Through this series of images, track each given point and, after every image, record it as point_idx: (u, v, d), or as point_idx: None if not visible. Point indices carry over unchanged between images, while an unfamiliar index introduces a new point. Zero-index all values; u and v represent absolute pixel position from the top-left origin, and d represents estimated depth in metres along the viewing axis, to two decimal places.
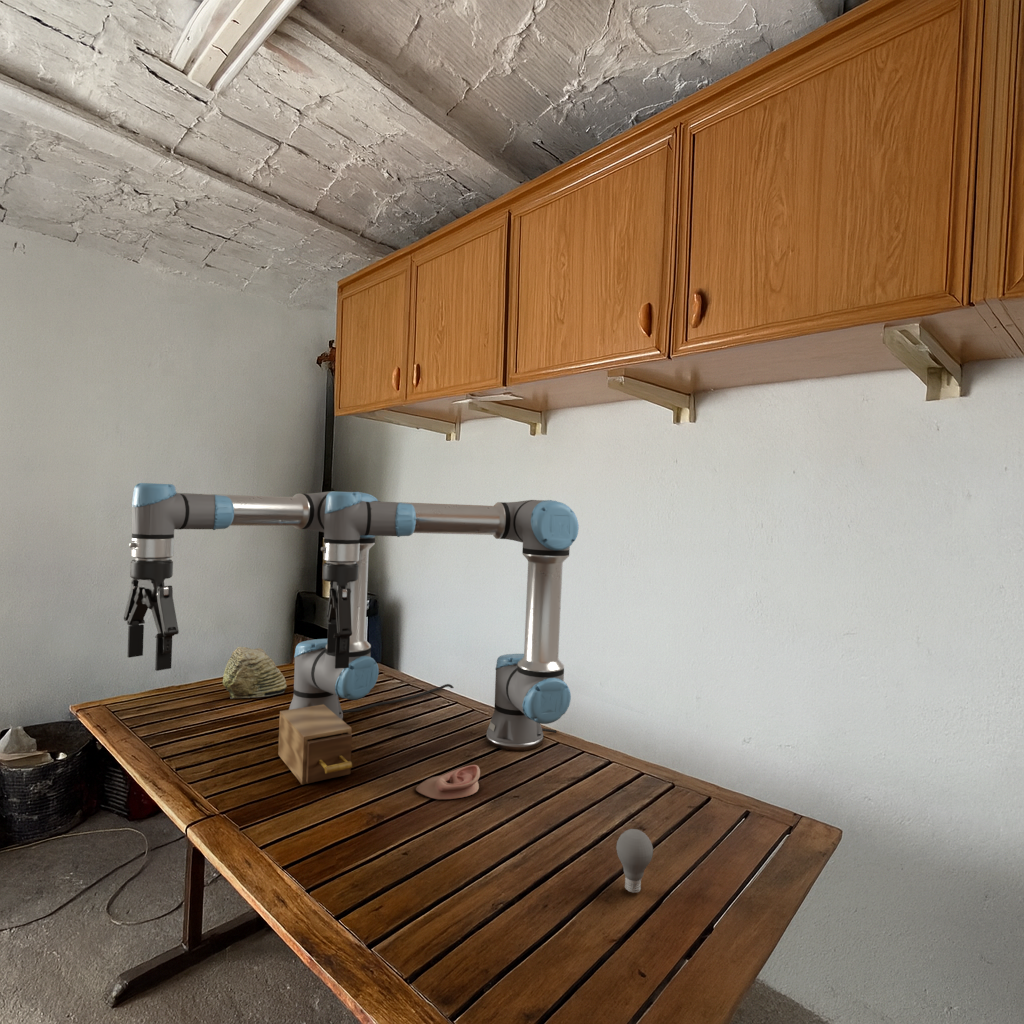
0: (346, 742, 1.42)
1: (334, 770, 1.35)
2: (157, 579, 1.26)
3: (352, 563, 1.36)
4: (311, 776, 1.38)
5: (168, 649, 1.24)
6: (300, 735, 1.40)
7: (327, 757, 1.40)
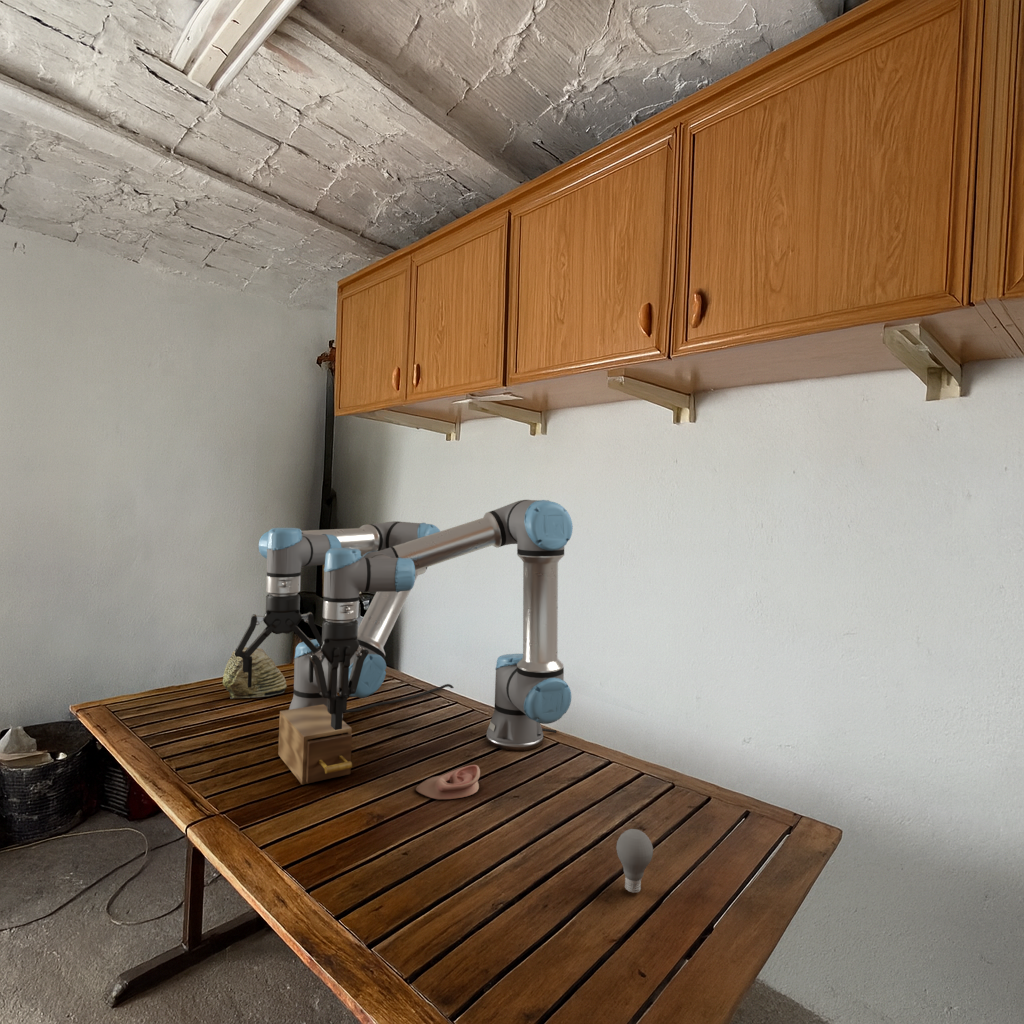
0: (346, 742, 1.42)
1: (334, 770, 1.35)
2: (299, 609, 1.50)
3: None
4: (311, 776, 1.38)
5: None
6: (300, 735, 1.40)
7: (327, 757, 1.40)
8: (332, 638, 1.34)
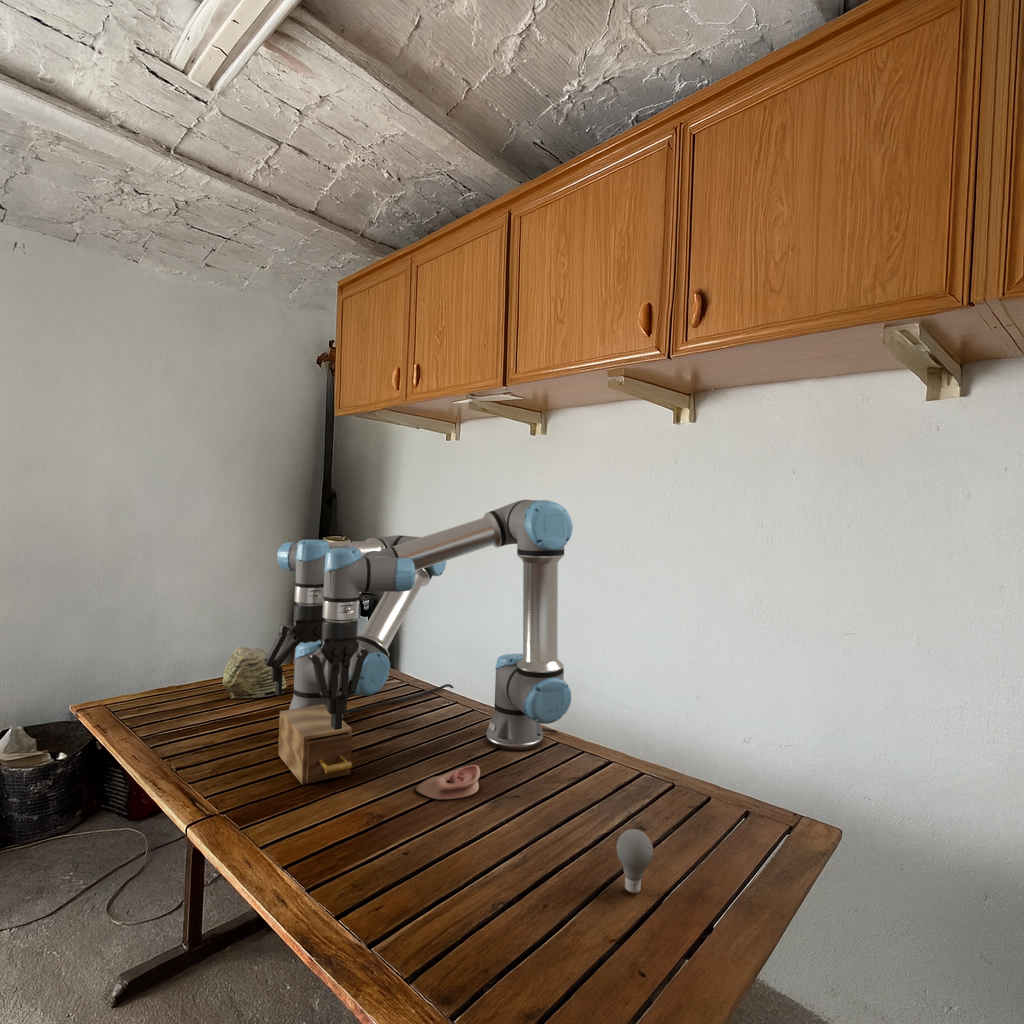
0: (346, 742, 1.42)
1: (334, 770, 1.35)
2: None
3: None
4: (311, 776, 1.38)
5: None
6: (300, 735, 1.40)
7: (327, 757, 1.40)
8: (332, 638, 1.34)
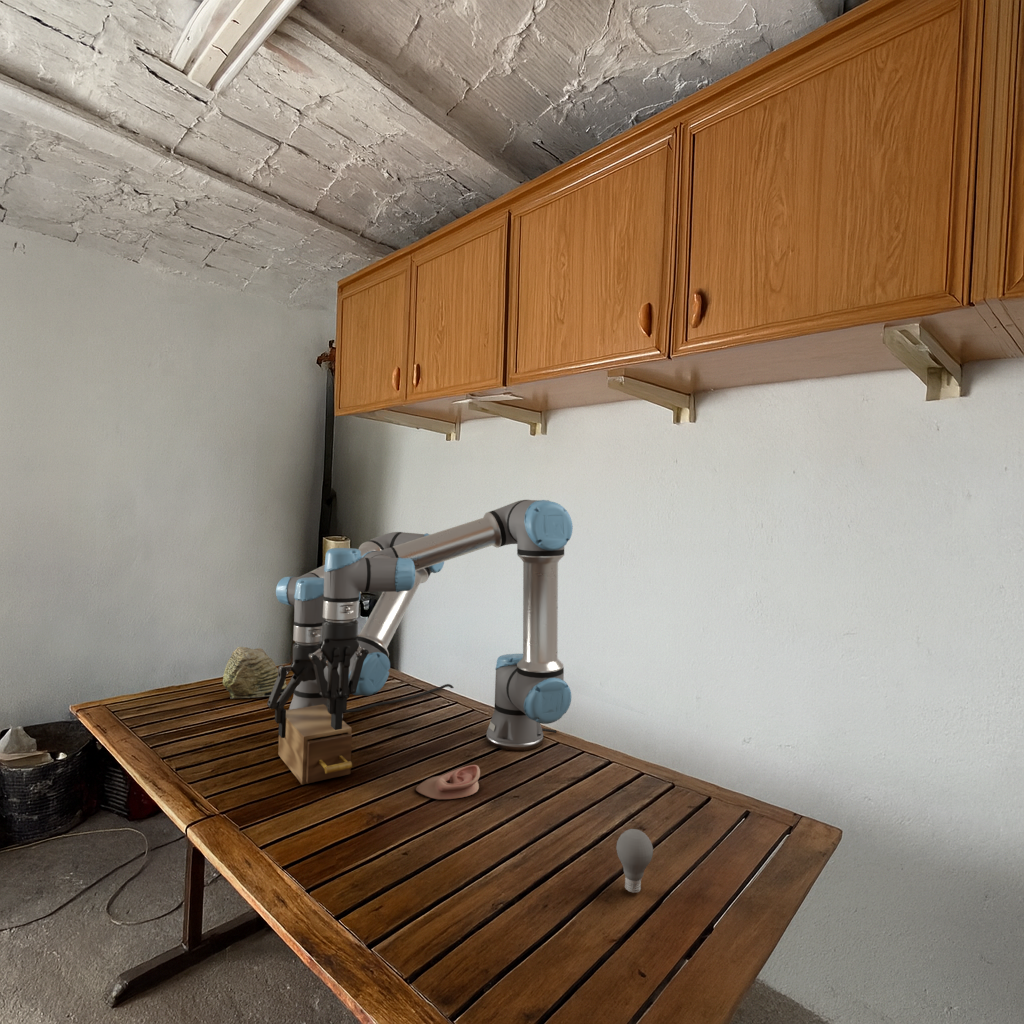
0: (346, 742, 1.42)
1: (334, 770, 1.35)
2: None
3: None
4: (311, 776, 1.38)
5: None
6: (300, 735, 1.40)
7: (327, 757, 1.40)
8: (332, 638, 1.34)
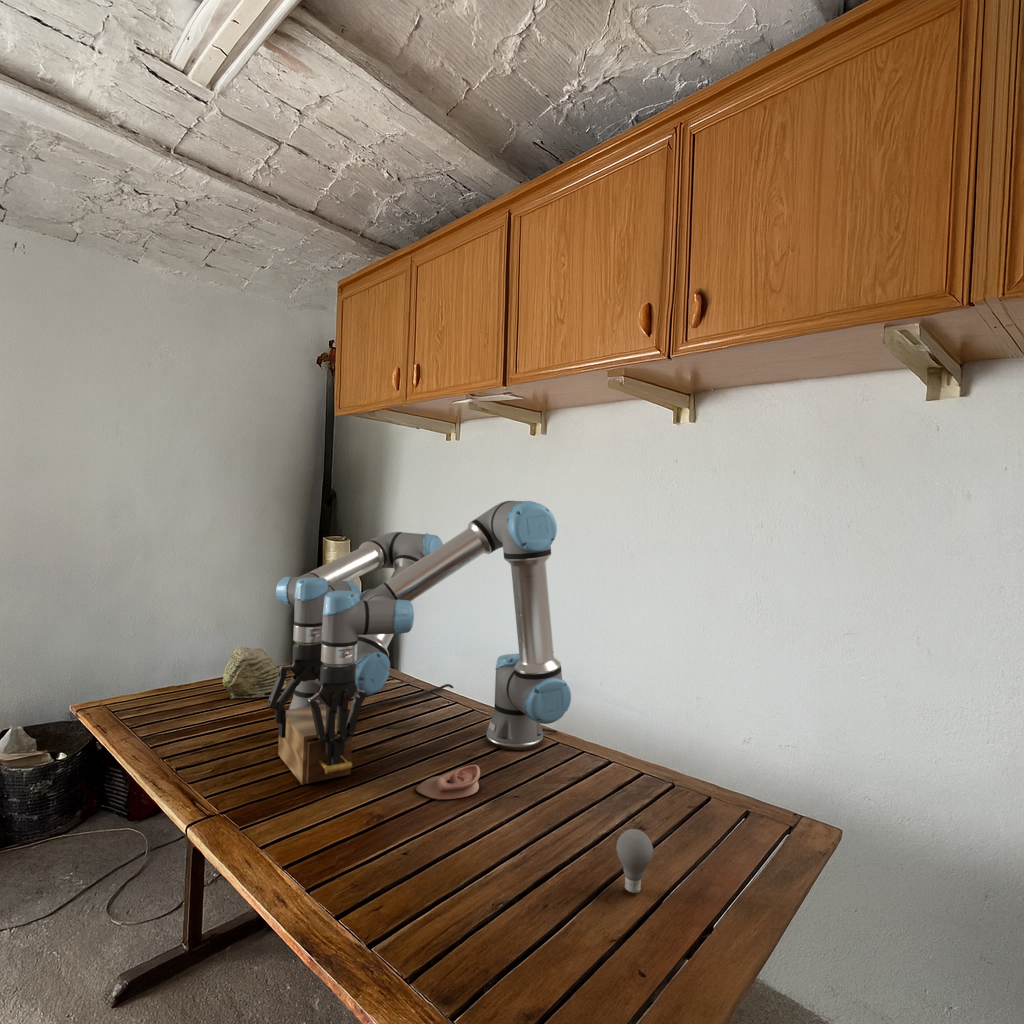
0: (346, 742, 1.42)
1: (334, 770, 1.35)
2: None
3: None
4: (311, 776, 1.38)
5: None
6: (300, 735, 1.40)
7: (327, 757, 1.40)
8: (330, 682, 1.34)
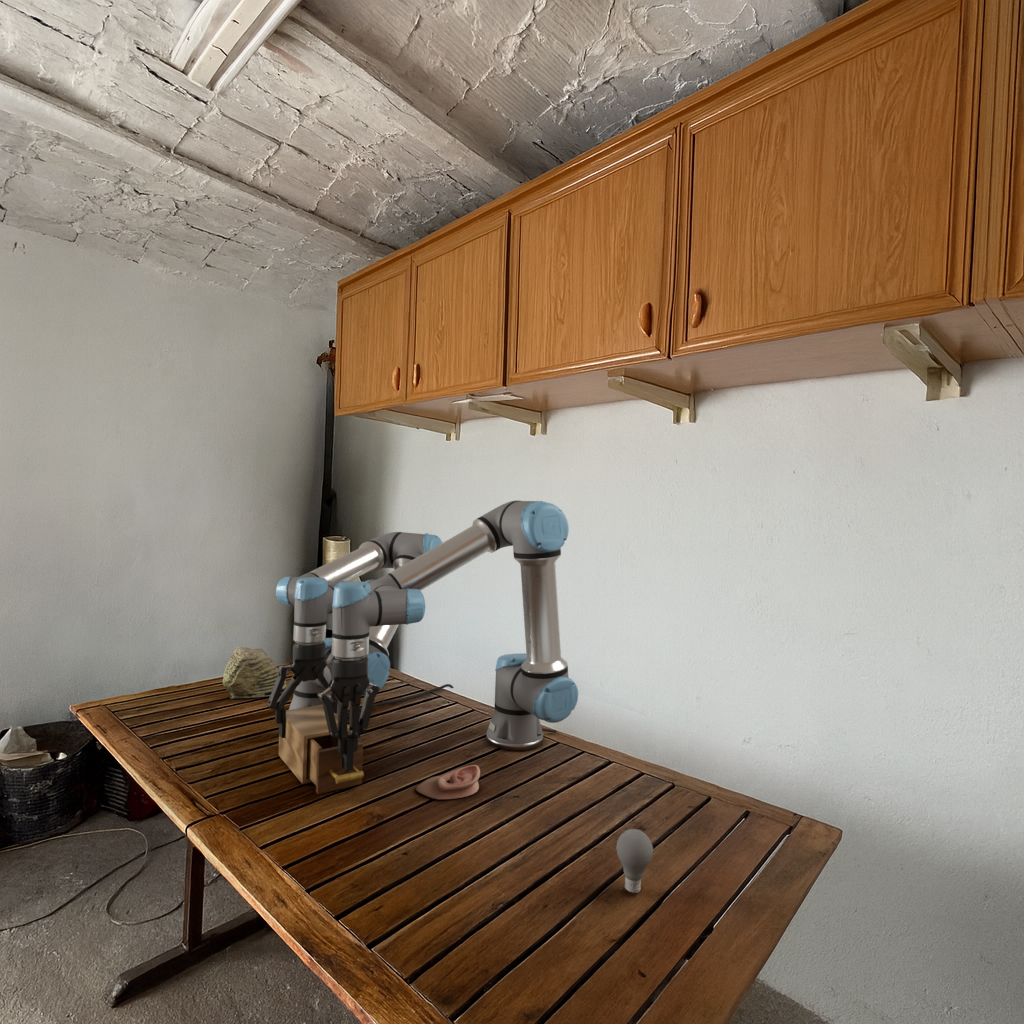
0: (357, 751, 1.37)
1: (345, 780, 1.30)
2: None
3: None
4: (321, 786, 1.33)
5: None
6: (300, 734, 1.40)
7: (337, 766, 1.35)
8: (342, 677, 1.29)
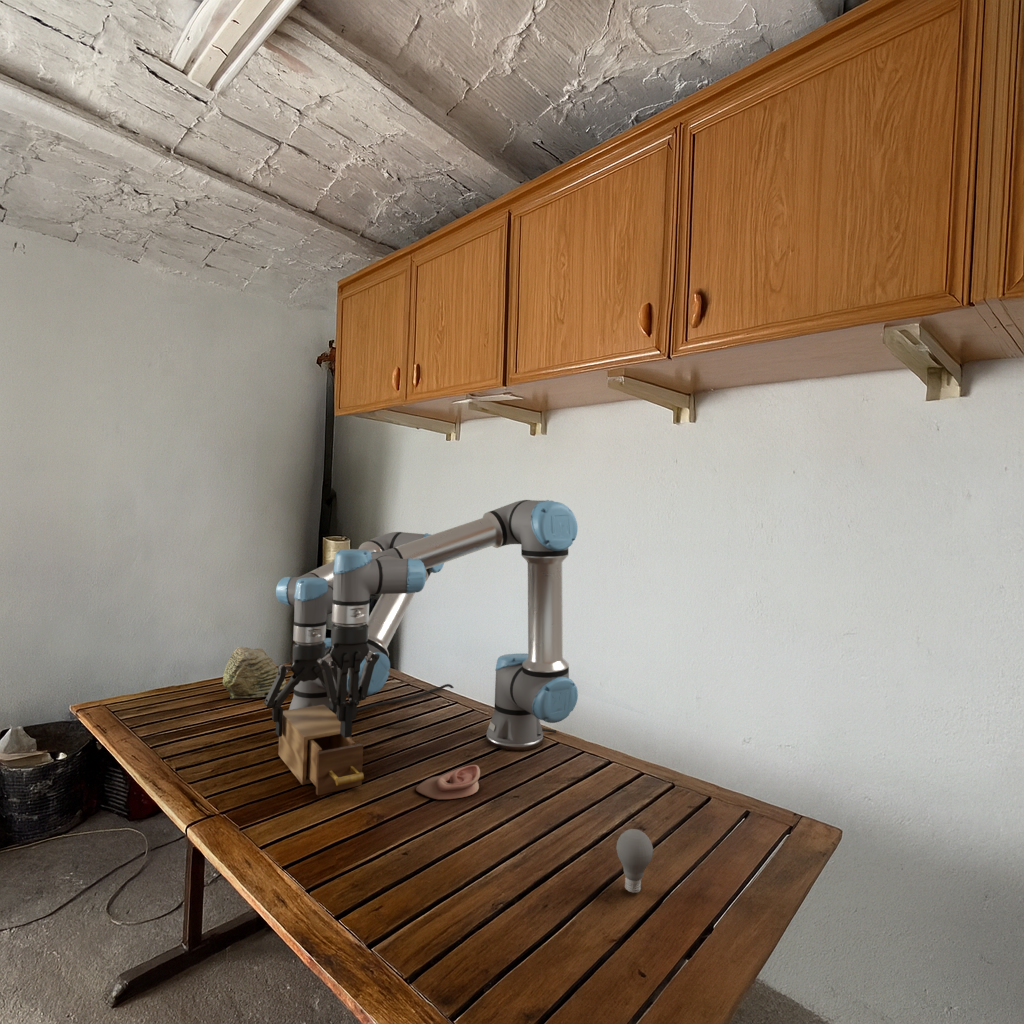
0: (357, 752, 1.37)
1: (345, 782, 1.30)
2: None
3: None
4: (321, 788, 1.33)
5: None
6: (300, 735, 1.40)
7: (337, 768, 1.35)
8: (342, 643, 1.29)
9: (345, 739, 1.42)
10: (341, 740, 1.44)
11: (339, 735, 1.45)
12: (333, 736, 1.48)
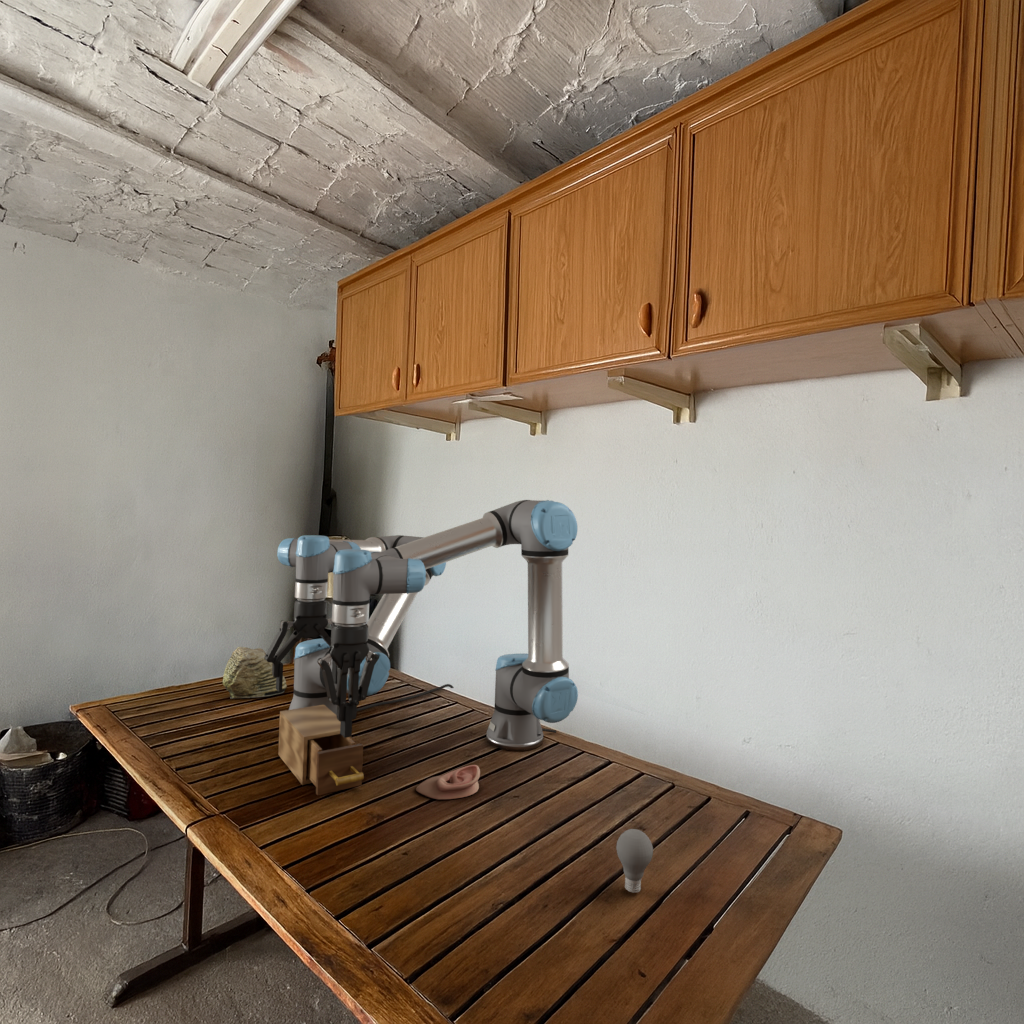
0: (357, 752, 1.37)
1: (345, 782, 1.30)
2: None
3: None
4: (321, 788, 1.33)
5: None
6: (300, 735, 1.40)
7: (337, 768, 1.35)
8: (342, 643, 1.29)
9: (345, 739, 1.42)
10: (341, 740, 1.44)
11: (339, 735, 1.45)
12: (333, 736, 1.48)
